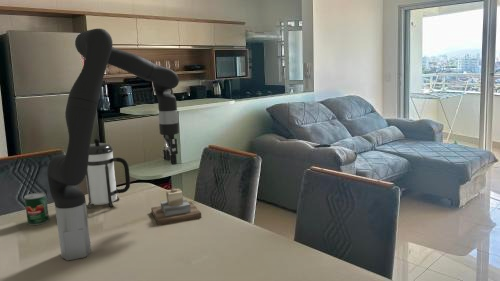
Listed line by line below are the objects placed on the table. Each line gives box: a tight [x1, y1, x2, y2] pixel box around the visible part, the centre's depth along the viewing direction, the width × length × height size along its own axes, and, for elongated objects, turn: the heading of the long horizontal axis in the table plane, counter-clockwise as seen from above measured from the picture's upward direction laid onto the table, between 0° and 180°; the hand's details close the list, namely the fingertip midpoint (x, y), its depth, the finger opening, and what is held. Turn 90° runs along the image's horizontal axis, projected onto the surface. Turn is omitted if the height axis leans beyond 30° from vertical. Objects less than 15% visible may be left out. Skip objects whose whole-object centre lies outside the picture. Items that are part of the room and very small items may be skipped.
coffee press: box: [85, 137, 131, 210], centre depth 190 cm, size 17×16×30 cm
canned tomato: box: [23, 192, 50, 226], centre depth 173 cm, size 8×8×11 cm
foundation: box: [151, 197, 202, 226], centre depth 175 cm, size 16×17×5 cm
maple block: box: [165, 188, 184, 206], centre depth 174 cm, size 6×6×6 cm
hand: (171, 162), depth 171 cm, fingers open, 8 cm apart
